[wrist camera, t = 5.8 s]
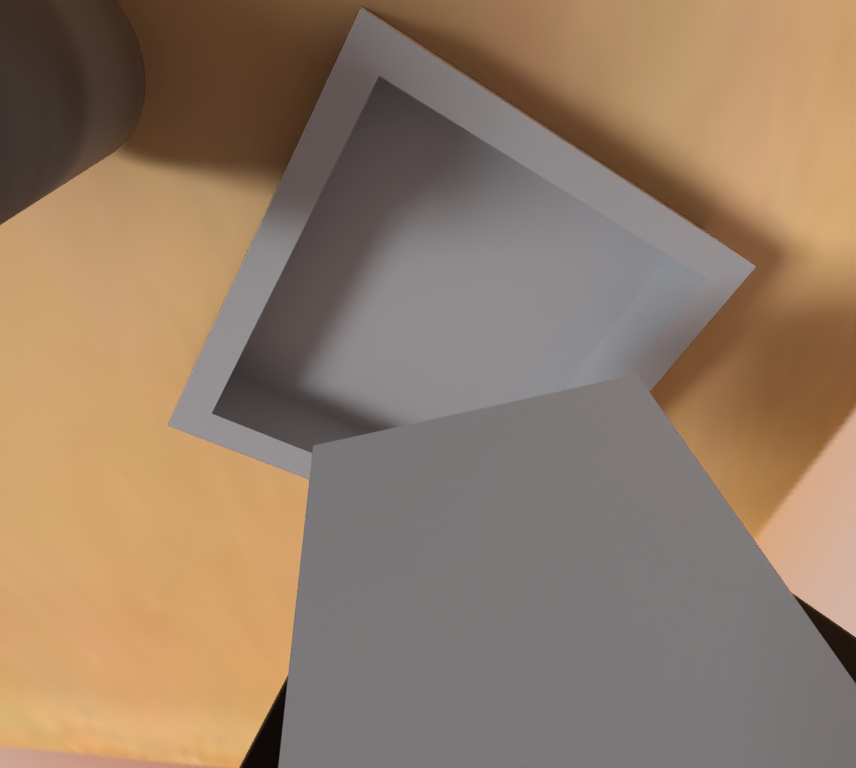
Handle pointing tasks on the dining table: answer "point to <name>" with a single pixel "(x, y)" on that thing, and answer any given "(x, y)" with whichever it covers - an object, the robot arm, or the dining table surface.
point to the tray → (439, 267)
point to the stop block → (547, 603)
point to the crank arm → (63, 93)
